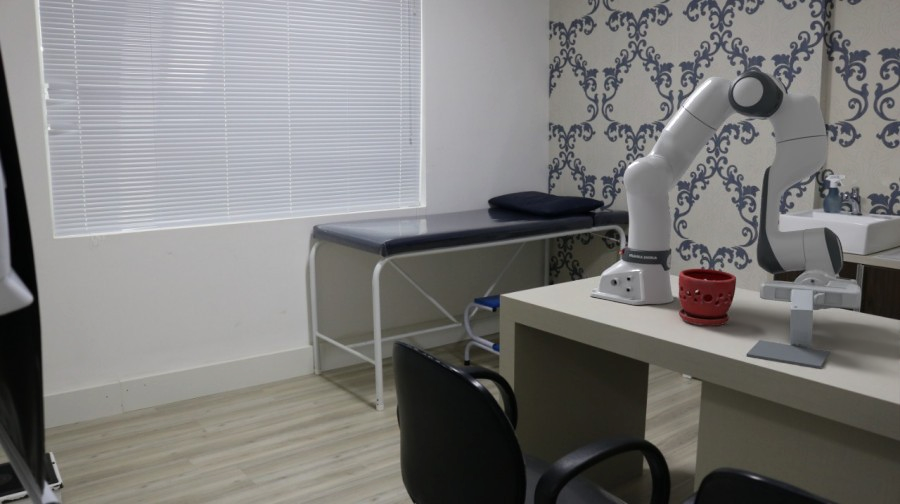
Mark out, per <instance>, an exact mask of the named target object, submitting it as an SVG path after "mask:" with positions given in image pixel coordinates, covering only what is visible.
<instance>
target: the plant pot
mask: <svg viewBox="0 0 900 504" xmlns="http://www.w3.org/2000/svg"><path fill="white" fill-rule="evenodd" d="M736 286H737V277H736V275H734V274H733V273H730V272H726V271H721V270H717V269H709V268H708V269H707V268H688V269H684V270H683V269H682V270H681V271H680V272H679V274H678V298H679V304H680V306H681V309H679V310H678V315H679V317H680V318H681V319H682V320H683V321H685V322H687V323H689V324H692V325H696V326H697V325H698V326H706V327H709V326H710V327H711V326H712V327H713V326H720V325H723V324H725V323H726V322H728V321H729V317H730V316H729V314H728V311H729V310H730V308H731V306H732V304H733V300H734V297H735V294H736V293H735V292H736Z"/></svg>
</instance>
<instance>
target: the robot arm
mask: <svg viewBox="0 0 900 504" xmlns="http://www.w3.org/2000/svg"><path fill="white" fill-rule="evenodd" d="M734 114H739V115H741V116H744V117H746V118H749V119H752V120H753V119H754V120H768V121H769V122H770V123H771V125H772V128H773V132H774V138H775V148H776V149H775V155H774V159H773V162H772V163H771V165H770V166H768V167H767V168H766V169H765V171H764V174H763V179H762V187H761V199H760V208H759V209H760V213H759V226H758V237H757V244H756V249H755V257H756V261H757V264H758V266H759V267H760V268H761V269H762V270H764V271H765V272H767V273H769V274H771V275H778V274H781V273H787V272H792V271H793V272H795V271H803V273H801V274H800V275H799V276H798V277H796V278H795V280H794V281H783V280H767V281H763V282H762V283H760V287H759V298H760V299H762V300H765V301H766V300H768V301H777V302H786V303H787V302H788V303H791V298H792V289H796V290H813V311H817V310H827V309H849V310H850V309H853V310H858V309H861V303H862V301H861V300H862V289H861V287H860V285H858V280H856V279H852V278H848V277H843V276H842V277H841V276H840V275H839V273H840V272H841V270H842V269H843V267H844V262H845V261H844V251H843V245H842V242H841V240H840V237H839V236H838V235H837V233H835V231H833V230H831V229H830V228H829V227H827V226H826V227H814V228H812V227H811V228H805V229H798V230H791V231H790V230H789V231H780V230H779V222H780V221H779V219H780V206H781V198H782V196H783V194H784V193H785V192H786V191H787V190H788V189H790V188H791V187H793V186H794V185H796V184H798V183H799V182H802V181H804V180H806V179H807V178H810V177H812V176H813V175H814V174H816V173H817V172H818V171H819V170H821V169H822V167H824V165H825V163H826V161H827V159H828V154H829V152H828V150H829V148H828V138H827V137H828V136H827V130H826V124H825V120H824V116H823V112H822V109H821V106H820V104H819V101H818V99H817V98H816V97H815V96H813V95H812V94H809V93H805V92H804V93H803V92H798V93H789V92H788V88H787V87H786V85H785V84H784V83H783V82H782V81H781V80H780V79H779V78H778V77H776V76H774V74H773V75H772V74H771V73H768V72H763V71H759V70H749V71H745V72H742V73H741V74H739V75H737V76H736V77H735V78H734V79H733V81H730V80H729V79H727V78H725V77H722V76H711V77H709V78H707V79H706V80H705V81H704V82H702V83H701V84H700V85H699V86H698V87H696V89H695V90H694V91H693V92H692V93H691V94H690V95H689V96H688V98H687V99H686V100H685V101H684V102H683V103H682V105H681V106H680V107H679V108H678V110H677V111H676V112H675V113H674V114H673V116H672V117H671V119H670V120H669V121H668V123H667V124H666V125H665V126H664V128H663V129H662V131H661V134H660V136H659V138H658V139H657V140H656V142H655V144H654V146H653V147H652V149H651V151H649V152H648V154H647V155H646V156H643V157H639V158H636V159H635V160H633V161H632V162H631V163H630V164H629V165H628V166H627V168H626V169H625V171H624V174H623V181H622V182H623V186H624V188H625V193H626V194H625V195H626V203H627V208H628V211H627V212H628V239H627V240H628V242H627V244H628V245H626V246H625V247H624V248H621V250H619V254H618V255H620V257H621V258H620V260H618V261H617V262H615V263H614V264H612V265H611V266H609V267H608V268H606V269H605V270H603V272H602V273H601V275H600V278H599V281H598V285H597V286H596V287H594V288H592V289H591V290H590V291H589V297H594V298H598V299H603V300H607V301H612V302H618V303H619V302H620V303H622V304H623V303H624V304H628V305H634V306H641V305H658V304H659V305H661V304H667V303H672V302H673V301H674V295H673V291H672V285H671V274H670V273H671V269H672V260H673V258H672V257H673V256H672V248H671V235H672V234H671V233H672V217H671V213H670V205H669V204H670V202H669V193H670V192H672V191H673V190H674V188H675V187H676V186H677V185H678V183H679V182H680V181H681V179H682V178H683V177H684V175H685V174H686V173H687V171H688V170H689V168H690V166H691V165H692V164H693V162H694V161H695V159H696V158H697V156H698V155H699V154H700V152H701V151H702V150H703V148H704V147H705V146H706V145H707V143H708V142H709V141H710V140H711V139H712V137H714V136H715V134H716V133H717V131H718V130H719V129H720V128H721V126H722V125H723V124H724V123H726V121H727V119H728V118H730V117H731V116H732V115H734Z"/></svg>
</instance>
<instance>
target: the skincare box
mask: <svg viewBox="0 0 900 504" xmlns="http://www.w3.org/2000/svg"><path fill="white" fill-rule="evenodd" d="M813 318H814V310H813V290H796V289H792V298H791V302H790V329H789V330H790V333H789V334H790V335H789V337H790V338H789V345H795V346H801V347H807V348H812V339H813V338H812V337H813V322H814V321H813Z"/></svg>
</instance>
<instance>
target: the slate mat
mask: <svg viewBox="0 0 900 504" xmlns="http://www.w3.org/2000/svg"><path fill="white" fill-rule="evenodd" d="M830 353H831V351H830V350H825V349H818V348H814V347H813V348H812V347H811V348H808V347H801V346H795V345H790V344H786V343H781V342H775V341H769V340H768V341H767V340H761V339H760V340H758V341H757V342H756V343H755V345H753V347H751V348H750V349H749V350H748V352H747V353H745V354H746V357H749V358H756V359H761V360H766V361H767V360H768V361H773V362H778V363H785V364H790V363H791V365H796V364H797V365H798V366H802V365H803V366H802V367H809V368H815V369H822V367H823V365H824V364H825V362H826V361H827V358H829V355H830Z"/></svg>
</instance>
